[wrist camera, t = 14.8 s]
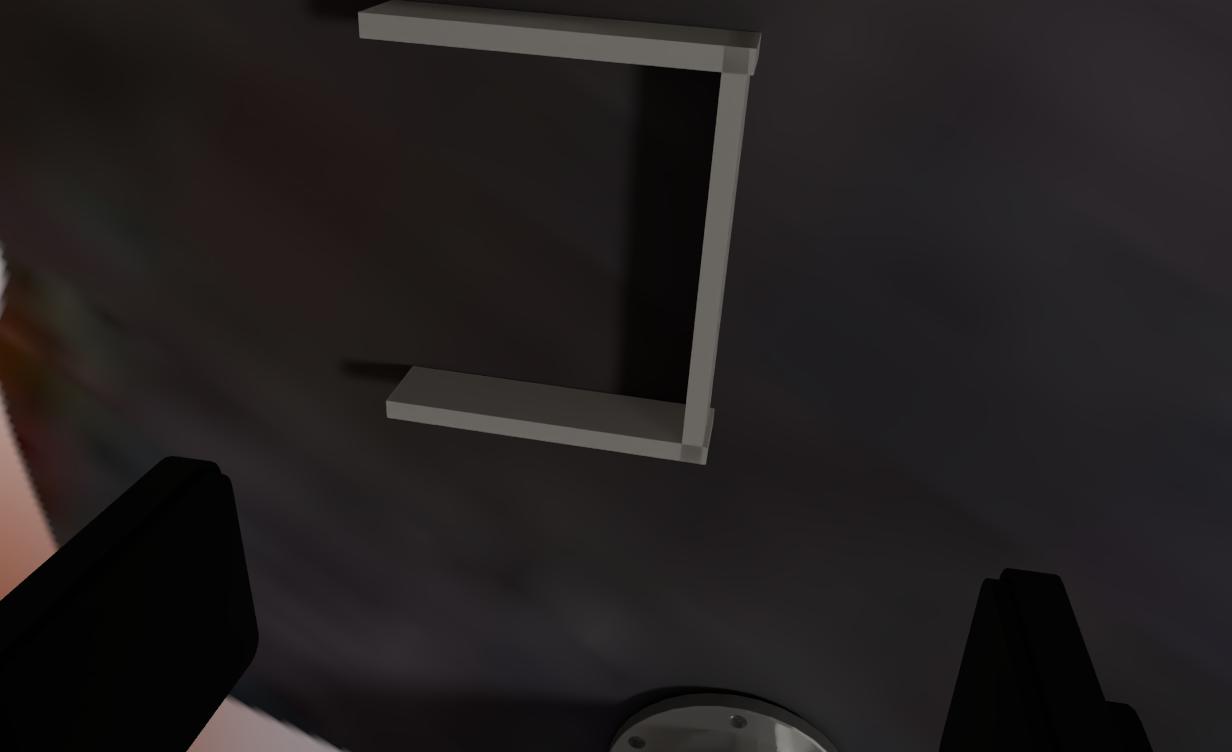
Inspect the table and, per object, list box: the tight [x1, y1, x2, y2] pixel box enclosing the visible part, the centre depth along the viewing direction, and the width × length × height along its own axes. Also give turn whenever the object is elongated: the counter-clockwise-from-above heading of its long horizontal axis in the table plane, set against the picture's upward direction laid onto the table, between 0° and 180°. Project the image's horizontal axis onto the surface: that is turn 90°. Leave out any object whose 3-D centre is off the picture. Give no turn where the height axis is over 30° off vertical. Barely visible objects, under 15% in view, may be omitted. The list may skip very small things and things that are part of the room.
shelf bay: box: [358, 0, 761, 465], centre depth 36 cm, size 16×13×3 cm
